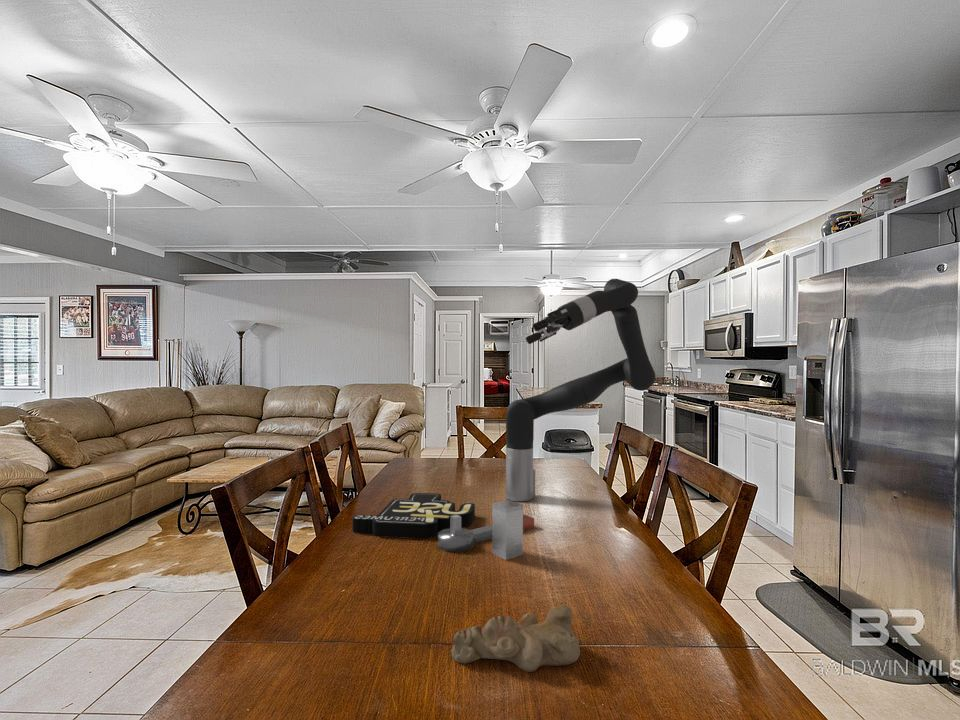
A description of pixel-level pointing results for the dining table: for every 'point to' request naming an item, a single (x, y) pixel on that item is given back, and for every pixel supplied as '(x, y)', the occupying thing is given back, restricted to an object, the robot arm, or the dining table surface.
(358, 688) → the dining table surface
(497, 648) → the figurine
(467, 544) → the ratchet
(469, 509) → the sign
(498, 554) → the brushed aluminum block
